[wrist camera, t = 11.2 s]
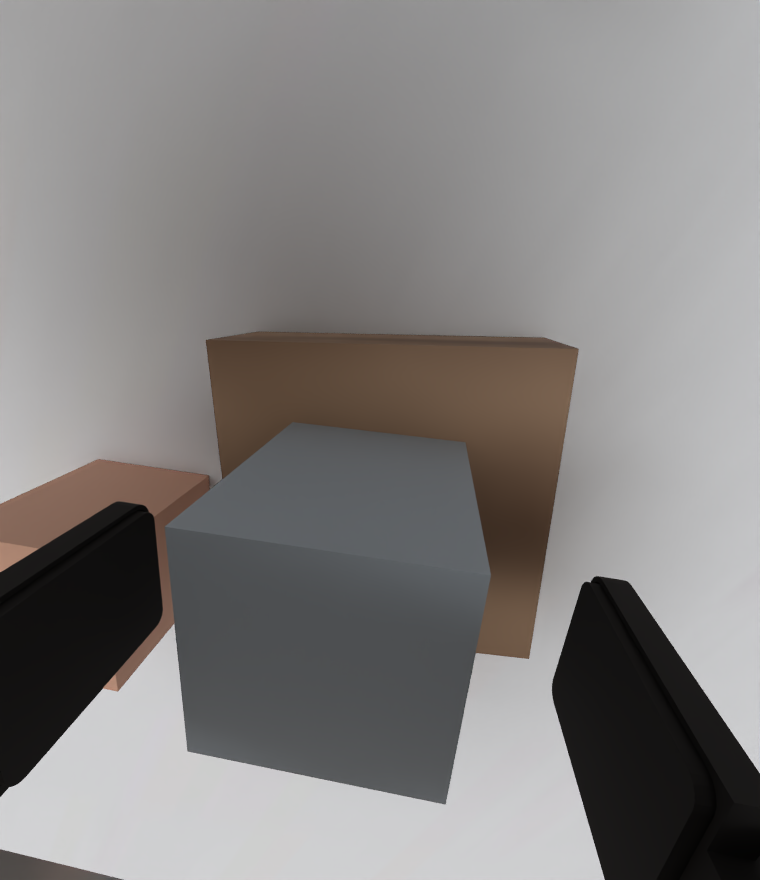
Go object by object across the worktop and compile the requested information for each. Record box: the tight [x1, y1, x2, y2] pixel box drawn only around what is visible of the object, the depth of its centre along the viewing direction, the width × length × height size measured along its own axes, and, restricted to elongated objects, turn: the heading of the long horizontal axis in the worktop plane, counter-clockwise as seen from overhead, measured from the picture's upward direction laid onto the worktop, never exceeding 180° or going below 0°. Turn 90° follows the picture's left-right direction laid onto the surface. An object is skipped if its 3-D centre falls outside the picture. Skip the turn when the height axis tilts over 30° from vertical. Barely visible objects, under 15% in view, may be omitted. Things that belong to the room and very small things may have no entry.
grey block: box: [165, 422, 491, 804], centre depth 10 cm, size 5×5×6 cm
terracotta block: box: [0, 459, 210, 691], centre depth 15 cm, size 5×5×6 cm
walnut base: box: [206, 332, 579, 659], centre depth 14 cm, size 10×10×4 cm
